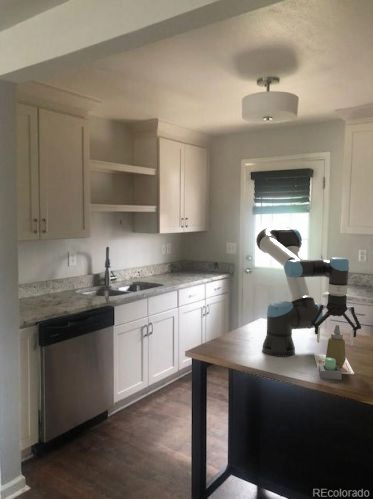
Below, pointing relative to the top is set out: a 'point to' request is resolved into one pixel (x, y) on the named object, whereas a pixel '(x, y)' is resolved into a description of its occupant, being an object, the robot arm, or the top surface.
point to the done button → (330, 364)
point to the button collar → (330, 372)
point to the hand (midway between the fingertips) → (334, 343)
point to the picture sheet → (345, 369)
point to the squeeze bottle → (336, 347)
